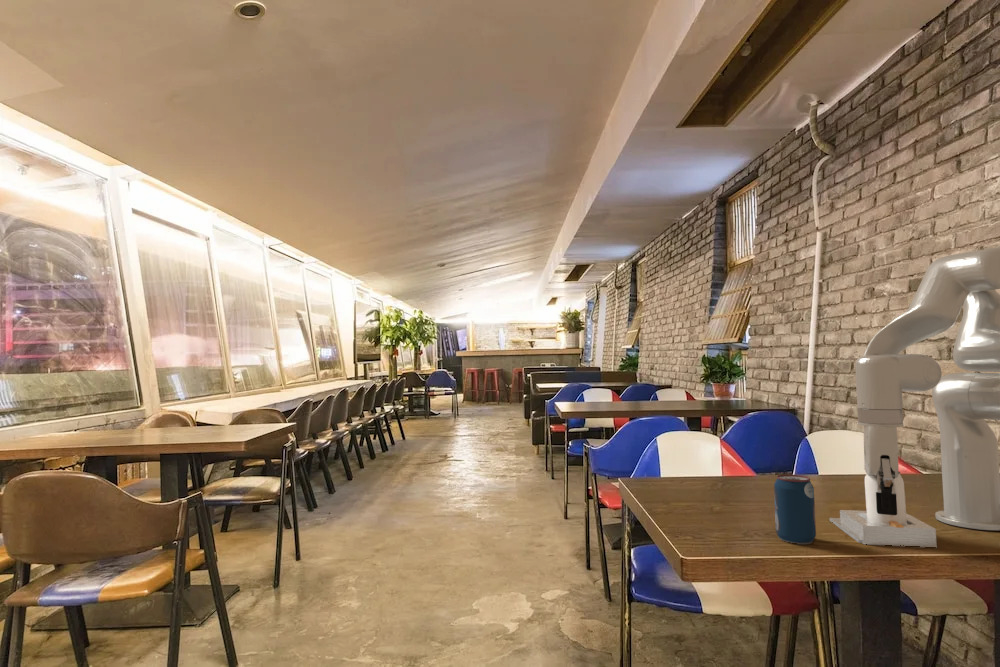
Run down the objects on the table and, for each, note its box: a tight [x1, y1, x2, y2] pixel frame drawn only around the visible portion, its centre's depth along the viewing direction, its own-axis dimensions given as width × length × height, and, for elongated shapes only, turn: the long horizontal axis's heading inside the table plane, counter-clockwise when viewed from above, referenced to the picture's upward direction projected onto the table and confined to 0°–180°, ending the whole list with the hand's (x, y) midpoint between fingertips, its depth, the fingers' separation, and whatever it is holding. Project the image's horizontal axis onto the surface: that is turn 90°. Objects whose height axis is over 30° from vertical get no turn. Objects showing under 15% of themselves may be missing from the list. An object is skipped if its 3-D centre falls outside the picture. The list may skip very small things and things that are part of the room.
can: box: [864, 470, 907, 524], centre depth 113 cm, size 6×6×12 cm
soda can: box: [773, 474, 817, 545], centre depth 111 cm, size 7×7×12 cm
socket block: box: [829, 509, 938, 549], centre depth 115 cm, size 13×17×4 cm
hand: (884, 509), depth 113 cm, fingers closed on can, 6 cm apart
